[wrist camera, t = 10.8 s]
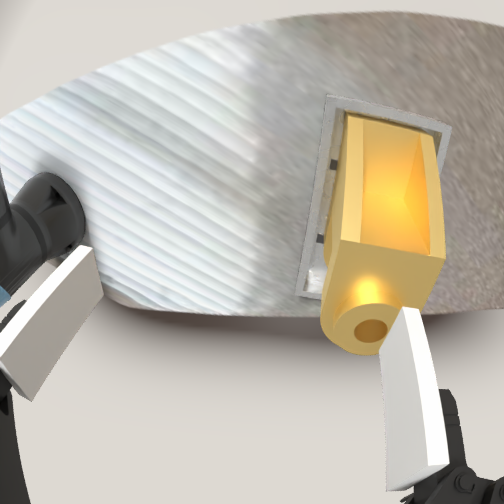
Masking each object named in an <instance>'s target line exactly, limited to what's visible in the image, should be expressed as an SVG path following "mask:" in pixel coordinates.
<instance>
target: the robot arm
mask: <svg viewBox="0 0 504 504" xmlns="http://www.w3.org/2000/svg"><path fill="white" fill-rule="evenodd" d="M84 232H85V219H84V214H83V210H82V207H81V205H80V202H79V200H78V198H77V197H76V195H75V193H74V192H73V190H72V189H71V188H70V187H69V185H68V184H67V183H66V182H65V181H63V180H62V179H61V178H60V177H58V176H56V175H54V174H51V173H40V174H38V175H36V176H34V177H33V178H31V179H29V180H28V181H27V182H26V183H25V184H24V186H23V187H22V188H21V190H20V191H19V192H18V194H17V195H16V196H15V198H14V199H13V200H12V202H11V203H10V204H9V201H8V197H7V194H6V190H5V186H4V182H3V177H2V173H1V168H0V307H1V306H2V305H4V304H5V303H6V302H7V301H9V300H10V299H11V296H12V295H13V294H14V293H15V292H16V291H17V290H18V289H19V288H20V287H21V286H22V285H23V284H24V283H25V282H26V281H27V280H28V279H29V277H30V276H31V275H32V274H33V273H34V272H35V271H36V270H37V269H38V268H39V267H40V266H41V265H42V264H43V263H45V262H46V261H47V260H50V259H52V258H55V257H57V256H60V255H62V254H65V253H67V252H69V251H71V250H72V249H73V248H75V247H76V246H77V245H78V244H79V243H80V242H81V240H82V238H83V236H84ZM103 296H104V293H103V289H102V285H101V281H100V277H99V272H98V268H97V264H96V259H95V255H94V250H93V248H91V247H87V246H82V245H80V246H79V247H78V248H77V249H76V250H75V251H74V252H73V253H72V254H71V255H70V256H69V257H68V258H67V259H66V260H65V261H64V262H63V263H62V264H61V265H60V266H59V267H58V268H57V269H56V270H55V271H54V272H53V273H52V274H51V276H49V277H48V278H47V280H46V281H45V282H44V283H43V284H42V285H41V286H40V287H39V288H38V290H37V291H36V292H35V293H34V294H33V295H32V296H31V297H30V298H29V300H28V301H26V300H23V301H22V302H20V303H18V304H17V305H15V306H14V307H13V309H12V310H11V311H10V312H9V313H8V314H7V317H5V318H4V319H3V320H2V323H0V504H31V503H30V499H29V495H28V492H27V487H26V484H25V479H24V475H23V470H22V465H21V460H20V455H19V449H18V443H17V436H16V429H15V421H14V412H13V401H12V394H11V391H10V389H11V387H12V386H13V388H14V389H15V390H16V391H17V392H18V394H19V395H21V396H23V397H24V398H26V399H28V400H29V401H31V402H32V400H33V399H34V397H35V395H36V394H37V392H38V391H39V389H40V387H41V386H42V384H43V383H44V381H45V379H46V378H47V376H48V375H49V373H50V372H51V370H52V369H53V367H54V365H55V364H56V362H57V361H58V359H59V358H60V356H61V355H62V353H63V352H64V350H65V349H66V347H67V346H68V345H69V343H70V342H71V340H72V339H73V337H74V336H75V334H76V333H77V332H78V330H79V329H80V327H81V326H82V324H83V323H84V322H85V320H86V319H87V317H88V316H89V315H90V313H91V312H92V311H93V309H94V308H95V306H96V305H97V304H98V302H99V301H100V300H101V298H102V297H103ZM379 357H380V367H381V377H382V387H383V401H384V416H385V435H386V436H385V438H386V491H404V490H407V489H409V488H411V487H412V486H414V493H412V494H410V495H408V496H406V497H404V498H403V499H402V500H401V501H400V502H404V501H406V502H405V503H404V504H504V477H502V478H500V479H498V480H496V481H493V480H488V479H484V478H479V477H477V476H476V473H475V472H474V471H473V470H472V469H471V468H469V467H468V466H467V464H466V459H465V451H464V444H463V438H462V432H461V426H460V420H459V416H458V410H457V405H456V401H455V399H454V397H453V396H452V394H451V392H450V390H449V389H447V390H446V389H438V385H437V381H436V375H435V372H434V366H433V362H432V358H431V354H430V349H429V345H428V341H427V337H426V334H425V330H424V326H423V323H422V319H421V315H420V312H419V309H415V308H409V307H402V308H401V310H400V312H399V314H398V316H397V318H396V320H395V322H394V324H393V326H392V328H391V329H390V331H389V333H388V335H387V337H386V339H385V340H384V342H383V344H382V346H381V347H380V349H379Z"/></svg>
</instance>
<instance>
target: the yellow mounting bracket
mask: <svg viewBox="0 0 504 504" xmlns="http://www.w3.org/2000/svg"><path fill="white" fill-rule="evenodd" d="M323 255H324V261H325V263H326V266H327V268H328V269H327V273H326V277H325V281H324V285H323V289H322V300H321V317H320V321H321V327H322V330H323V332H324V333H325V335H326V336H327V337H328V338H329V339H330V340H331V341H332V342H333V343H335V344H336V345H338V346H340V347H341V348H342V349H344V350H345V351H347V352H350V353H352V354H356V355H376V354H379V349H380V347H381V346H382V344H383V342H384V340H385V339H386V337H387V335H388V333H389V331H390V329H391V328H392V326H393V324H394V322H395V320H396V318H397V316H398V314H399V312H400V310H401V308H402V307H409V308H415V309H419V312H420V313H421V311H422V309H423V307H424V305H425V303H426V301H427V299H428V297H429V295H430V293H431V291H432V288H433V286H434V284H435V282H436V280H437V278H438V275H439V273H440V271H441V269H442V266H443V264H444V262H445V260H446V250H445V230H444V216H443V205H442V195H441V187H440V179H439V171H438V165H437V158H436V152H435V146H434V141H433V136H431V135H430V134H428V133H427V132H426V131H424V130H422V129H418V128H414V127H411V126H407V125H403V124H399V123H395V122H391V121H386V120H382V119H378V118H373V117H368V116H364V115H359V114H354V113H348V112H345V119H344V126H343V132H342V139H341V145H340V151H339V157H338V163H337V169H336V175H335V180H334V186H333V191H332V197H331V202H330V207H329V212H328V217H327V222H326V227H325V232H324V251H323Z"/></svg>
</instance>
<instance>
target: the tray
mask: <svg viewBox="0 0 504 504" xmlns="http://www.w3.org/2000/svg"><path fill="white" fill-rule="evenodd" d="M345 112H348V113H354V114H359V115H364V116H368V117H373V118H378V119H382V120H386V121H391V122H395V123H399V124H403V125H407V126H411V127H414V128H418V129H422V130H424V131H426V132H427V133H428V134H430V135H431V136H433V141H434V146H435V152H436V158H437V165H438V171H439V178H440V175H441V171H442V167H443V164H444V160H445V156H446V152H447V148H448V144H449V139H450V135H451V130H452V126H450V125H448V124H446V123H444V122H443V121H440V120H437V119H434V118H430V117H427V116H424V115H420V114H416V113H413V112H409V111H405V110H402V109H398V108H394V107H390V106H385V105H381V104H377V103H372V102H368V101H363V100H358V99H353V98H348V97H342V96H337V95H331V94H326V102H325V109H324V117H323V125H322V132H321V139H320V146H319V153H318V160H317V167H316V173H315V180H314V186H313V192H312V199H311V205H310V211H309V217H308V222H307V228H306V234H305V240H304V245H303V251H302V256H301V261H300V267H299V272H298V277H297V283H296V290H295V295H296V296H302V297H308V298H314V299H320V300H322V289H323V285H324V281H325V277H326V273H327V269H328V268H327V266H326V263H325V261H324V255H323V251H324V232H325V227H326V222H327V217H328V212H329V207H330V202H331V197H332V191H333V186H334V180H335V175H336V169H337V163H338V157H339V151H340V145H341V139H342V132H343V126H344V119H345Z"/></svg>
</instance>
